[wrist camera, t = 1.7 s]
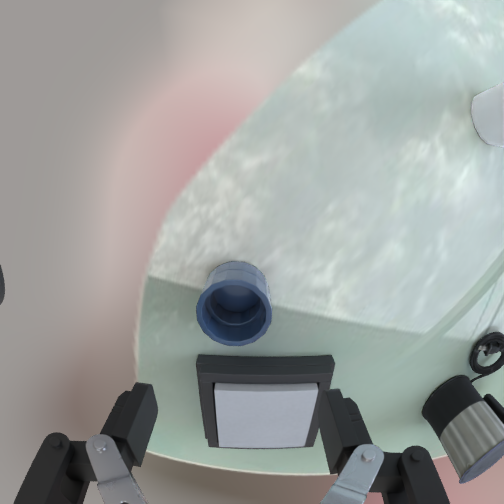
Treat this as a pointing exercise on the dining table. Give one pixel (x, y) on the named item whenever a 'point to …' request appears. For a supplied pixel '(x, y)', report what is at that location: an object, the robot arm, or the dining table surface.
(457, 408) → the milk frother
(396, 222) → the dining table surface
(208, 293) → the blue cup
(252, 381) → the scale
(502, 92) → the foam cup
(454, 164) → the dining table surface
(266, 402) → the pan
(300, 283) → the dining table surface
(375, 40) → the dining table surface
